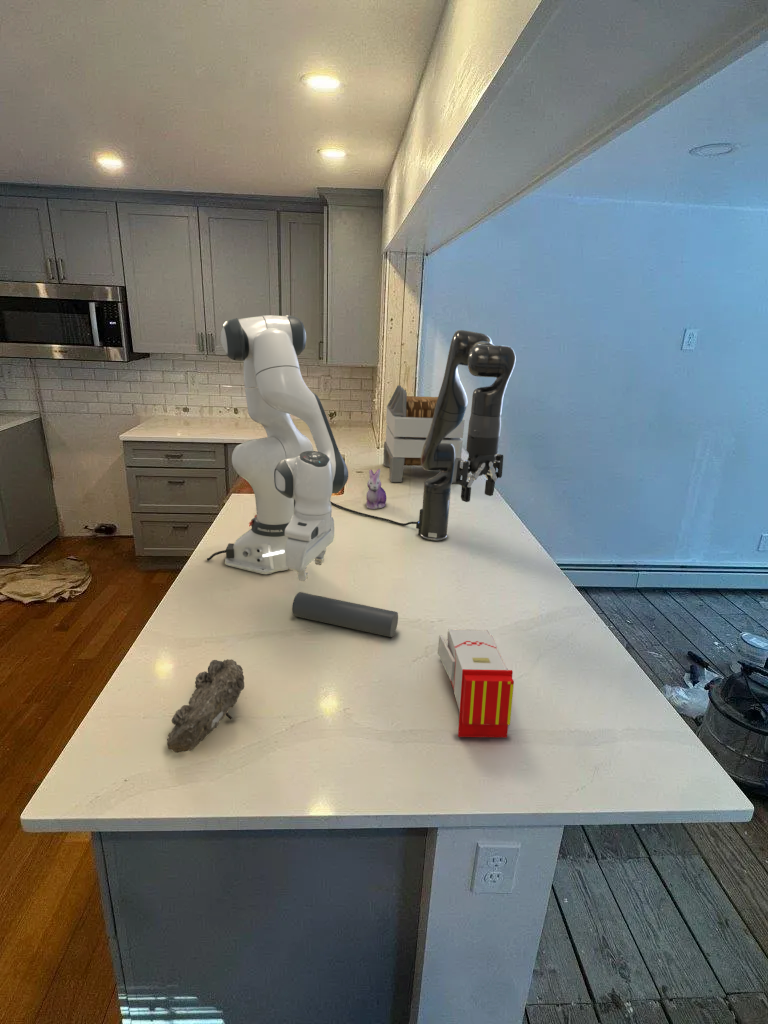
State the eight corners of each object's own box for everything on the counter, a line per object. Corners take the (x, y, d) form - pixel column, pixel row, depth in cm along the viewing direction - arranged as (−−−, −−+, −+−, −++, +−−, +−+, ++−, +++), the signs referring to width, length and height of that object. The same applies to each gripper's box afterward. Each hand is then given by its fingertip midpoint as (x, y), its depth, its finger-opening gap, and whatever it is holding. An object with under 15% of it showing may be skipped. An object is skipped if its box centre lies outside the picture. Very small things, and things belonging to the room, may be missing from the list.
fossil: (192, 660, 117) (244, 628, 112) (224, 691, 120) (276, 661, 115) (142, 746, 98) (202, 712, 93) (182, 779, 101) (242, 748, 96)
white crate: (382, 463, 289) (386, 382, 275) (445, 464, 293) (451, 384, 279) (390, 482, 257) (394, 392, 243) (460, 483, 261) (468, 394, 247)
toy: (488, 613, 130) (523, 677, 101) (484, 667, 133) (517, 744, 104) (435, 612, 130) (455, 676, 101) (432, 666, 133) (451, 743, 103)
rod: (397, 629, 140) (398, 607, 138) (389, 642, 135) (391, 619, 133) (303, 608, 148) (302, 588, 146) (292, 620, 142) (291, 598, 140)
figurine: (370, 511, 220) (372, 474, 215) (359, 503, 229) (360, 467, 224) (392, 508, 224) (394, 471, 219) (380, 500, 233) (381, 465, 228)
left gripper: (318, 503, 145) (317, 552, 150) (280, 532, 127) (280, 587, 132) (341, 508, 143) (339, 557, 149) (306, 538, 125) (305, 592, 130)
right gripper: (491, 427, 141) (484, 489, 146) (451, 433, 132) (445, 498, 138) (515, 433, 135) (507, 497, 141) (475, 439, 127) (468, 507, 132)
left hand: (311, 571), depth 140 cm, fingers open, 8 cm apart
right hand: (477, 498), depth 139 cm, fingers open, 8 cm apart
